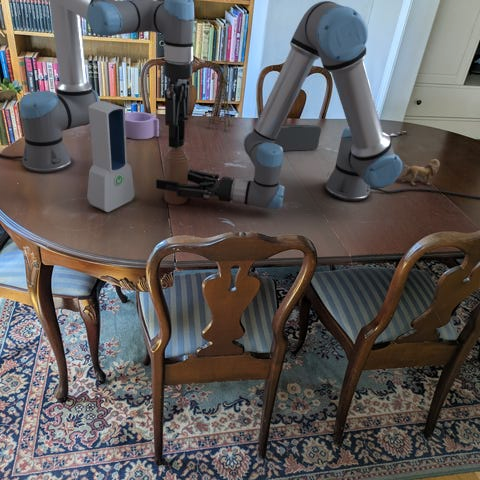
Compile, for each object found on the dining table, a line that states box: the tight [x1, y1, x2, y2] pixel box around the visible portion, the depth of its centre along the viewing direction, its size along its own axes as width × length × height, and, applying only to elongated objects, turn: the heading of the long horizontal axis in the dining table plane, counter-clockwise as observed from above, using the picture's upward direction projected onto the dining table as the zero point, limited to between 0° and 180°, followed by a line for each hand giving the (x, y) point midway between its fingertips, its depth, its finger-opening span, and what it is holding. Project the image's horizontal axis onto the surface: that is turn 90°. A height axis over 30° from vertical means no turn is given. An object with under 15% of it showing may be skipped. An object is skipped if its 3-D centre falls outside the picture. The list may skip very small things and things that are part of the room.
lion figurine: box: [400, 158, 441, 186], centre depth 172 cm, size 15×5×9 cm, turn 110°
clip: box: [125, 111, 160, 140], centre depth 188 cm, size 20×12×7 cm, turn 109°
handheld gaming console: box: [274, 124, 322, 152], centre depth 189 cm, size 23×3×10 cm, turn 108°
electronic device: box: [86, 100, 135, 213], centre depth 133 cm, size 12×8×30 cm, turn 148°
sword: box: [387, 132, 406, 138], centre depth 214 cm, size 31×3×1 cm, turn 126°
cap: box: [178, 136, 185, 147], centre depth 137 cm, size 4×4×2 cm
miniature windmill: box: [207, 57, 231, 131], centre depth 198 cm, size 9×8×30 cm
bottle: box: [163, 146, 190, 205], centre depth 142 cm, size 7×7×20 cm
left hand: (176, 144), depth 137 cm, fingers closed on cap, 4 cm apart
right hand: (160, 178), depth 144 cm, fingers closed on bottle, 7 cm apart
